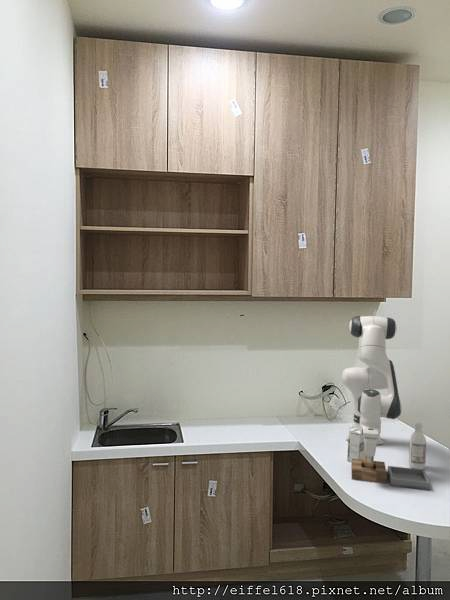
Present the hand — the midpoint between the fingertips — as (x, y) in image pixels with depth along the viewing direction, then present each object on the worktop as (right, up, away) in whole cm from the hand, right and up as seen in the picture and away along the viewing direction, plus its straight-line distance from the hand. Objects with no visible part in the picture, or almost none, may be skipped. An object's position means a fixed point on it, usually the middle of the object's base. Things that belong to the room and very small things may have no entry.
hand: (368, 459), depth 216 cm
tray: (+15, -7, -6) cm, 17 cm away
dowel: (0, -7, 0) cm, 7 cm away
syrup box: (-1, -6, +17) cm, 18 cm away
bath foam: (+25, -7, +12) cm, 29 cm away
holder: (0, -7, 0) cm, 7 cm away
